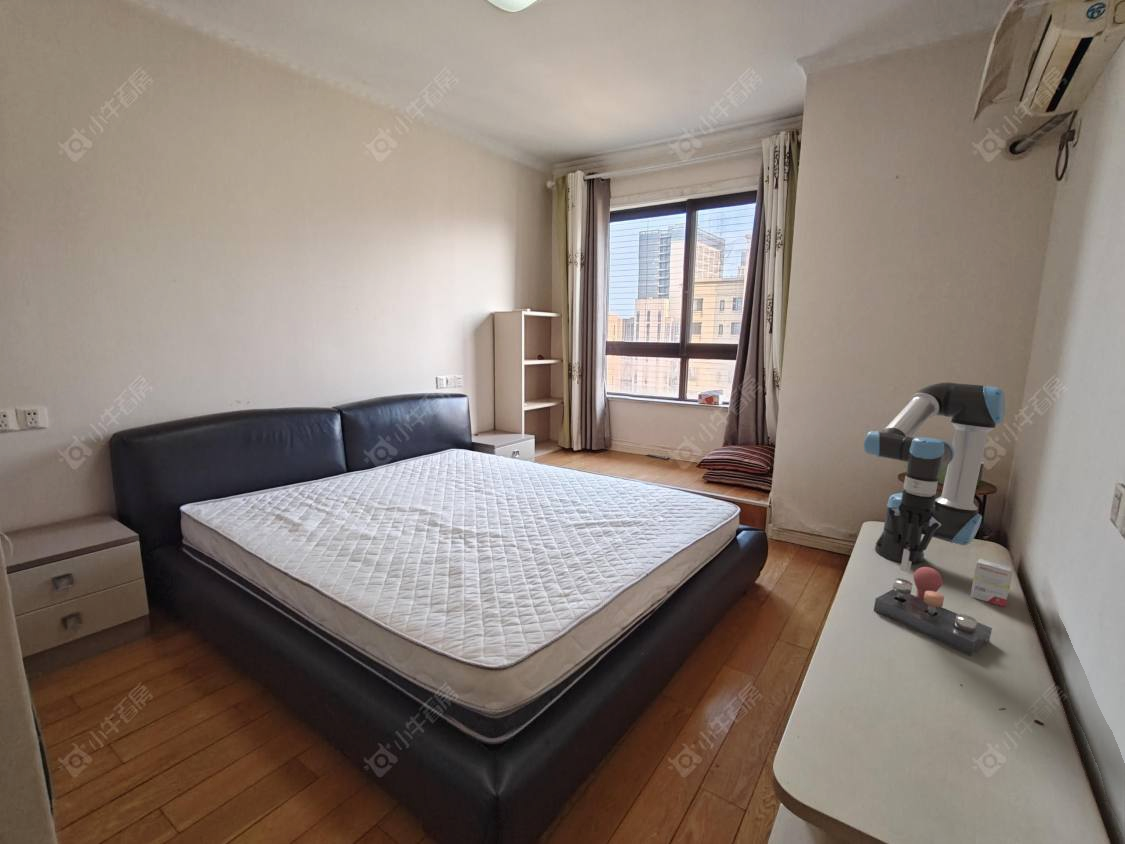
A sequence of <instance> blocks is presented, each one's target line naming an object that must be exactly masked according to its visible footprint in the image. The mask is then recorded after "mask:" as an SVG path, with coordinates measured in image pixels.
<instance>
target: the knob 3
mask: <svg viewBox="0 0 1125 844" xmlns="http://www.w3.org/2000/svg"><path fill="white" fill-rule="evenodd" d="M957 614H958V615H956V620H955V626H956V627H957V628H959V629H961V630H963V631H966V632H975V630H976V625H977V622H978V621H977V620H976V619H975V618H974V617H972V616H969V615H967V614H963V613H962V614H961V613H957Z"/></svg>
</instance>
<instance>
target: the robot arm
mask: <svg viewBox="0 0 1125 844" xmlns="http://www.w3.org/2000/svg"><path fill="white" fill-rule="evenodd" d="M1005 414H1006V395H1005V392H1004V390H1003V389H1002V388H1000V387H997V386H989V385H980V384H979V385H978V384H968V383H957V382H956V383H955V382H939V383H934V384H931V385H928V386H924V387H923V388H921V389H919V390H917V391H915V392H913V394H912V395H910V396H909V397H908V399H907V401H906V404H905V406H904V408H902V410H901V411H899V413H898V414H897V415H896V416H895V417H894V418H893V419H892V420H891V421H890V423H888V424H887V425H886V426H885V428H884V429H882V431H879V430H876V431H875V430H871V431H869V432H868V433H867V434H866V436H865V438H864V443H863V450H864V452H865V453H866V454H868V455H872V456H874V457H875V456H876V457H877V458H879V457H881V458H885V459H892V460H897V461H902V462H904V463H905V462H906V463H907V466H906V473H905V477H904V482H903V489H904V490H902V492H899V493H894V494H892V495H890V496H889V498H888V501H887V504H886V512H885V518H884V524H883V530H882V533H881V534H880V535H879V537H878V538H877V540H876V543H875V546H874V551H875V552H876V553H877V554H878V555H880V556H882V557H883V558H885V559H889V560H891V561H895V562H898V563H901V564H900V568H899V569H900V571H902V572H905V573H907V572H908V571H910V570H911V568H912V564H921V563H923V562H924V558H925V552H924V551H926V550H927V548H928V546H929V544H930V543H931V540H932V538H935V539H938V540H942V541H945V542H948V543H950V544H955V545H959V546H968V545H970V544H971V543H972V542H973V540H974V539H975V536H976V535H977V533H978V531H979V529H980V526H981V522H982V519H983V516H982V515H981V514H980V513H977V511H978V507H977V505H975V503H974V499H975V498H974V497H975V494H976V489H977V486H978V485H977V484H978V479H979V475H980V471H981V465H982V461H983V457H984V453H985V452H984V451H985V448H986V443H987V438H988V434H989V432H991V431H993V430H995V428H996V425H1000V424H1003V421H1004V419H1005ZM935 416H940V417H941V416H942V417H949V418H951V421H950V424H951V425H952V426H953V427H954V435H953V438H952V439H953V440H952V444H951V443H950V442H949V441H946V440H943V439H938V438H933V437H924V436H920V437H919V436H917V437H914V436H915V434H916V433H918V430H920V429H921V428H922V426H923V425H924V424H925V423H926V422H927V421H928V420H929V419H931V418H934V417H935ZM945 466H947V469H946V473H945V477H944V482H943V487H942V493H941V495H940V496H939V497H936V496H935V495H936V493H937V490H938V489H937V488H938V482H939V476H940V472H941V469H942V467H945ZM922 535H923V537H922Z"/></svg>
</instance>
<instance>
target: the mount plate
mask: <svg viewBox="0 0 1125 844" xmlns="http://www.w3.org/2000/svg"><path fill="white" fill-rule="evenodd" d="M897 596H898V592H897V591H895V590H894V589H893V588H892V589H891V590H889V591H887V592H885V593H883V594H882V595H879V596H877V597H876V598H875V599H874V606H873V612H876V613H878V614H880V615H882V616H884V617H887V618H888V619H890V620H893V621H895V622H897V623H899V624H901V625H904V626H905V627H908V628H910V629H912V630H913V631H917V632H918V633H920V634H922V635H925V636H927V637H929V638H931V639H933V640H935V641H938V642H940V643H941V644H943V645H946V646H948V647H950V648H951V649H952V648H953V649H954V650H956V651H959V652H961V653H963V654H965V655H967V656H969V657H972V656H973V655H974V654H975V653H977V652H978V651H979V650H980V649H982V648H983V647H984V646H985V645H987V644H988V643H989V642H990V639H991V635H992V629H993V627H990V626H988V625H985V624H983V623H981V622H978V621H977V625H976V630H975V632H966V631H963V630H961V629H959V628H957V627H956V626H955V620H956V615H958V614H959V613H957V612H955V611H952V610H949V609H947V608H944V607H943V606H942V607H936V609H935V614H934V616H933V615H930V614H928V613H927V612H928V607H929V605H928V604H926V603H925V602H924V601H923V599H921V598H919V597H916V595H913V594H912V593H910V594H905V595H904V600H903V602H900V601H898V600H897Z"/></svg>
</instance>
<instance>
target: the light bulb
mask: <svg viewBox="0 0 1125 844" xmlns="http://www.w3.org/2000/svg"><path fill="white" fill-rule="evenodd" d="M912 579H913V582H914V584H915V587H916V589H917V591H916V594H915V596H916V597H919V598H921V599H923V600H924V595H925V591H934V592H937V593H938V591H939V590H940V588H941V587H942V586H943V577H942V575H941V573H939V571H937V570H936V569H934V568H933V567H929V566H923V567H922V566H921V567H919V568H917V569H916V570H915V571H914V573H913V578H912Z"/></svg>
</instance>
